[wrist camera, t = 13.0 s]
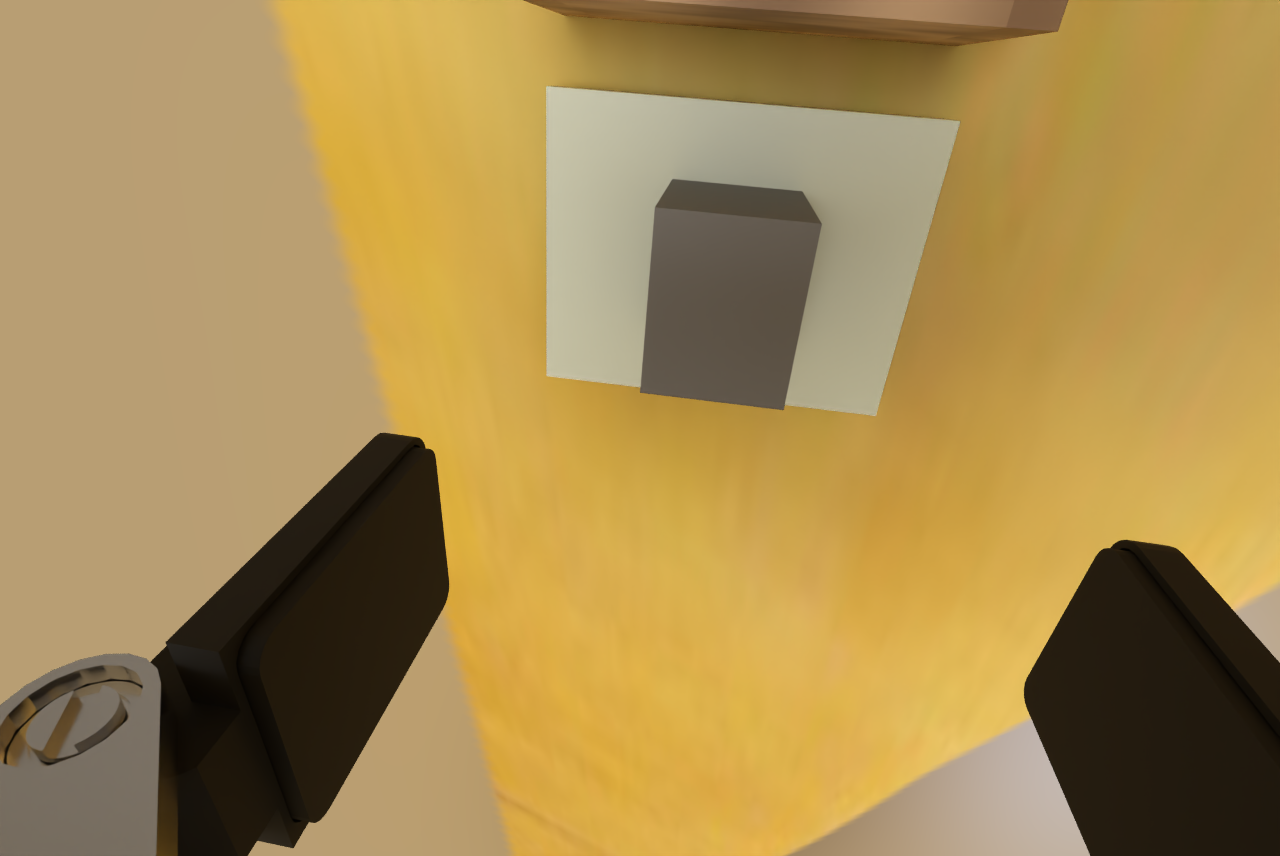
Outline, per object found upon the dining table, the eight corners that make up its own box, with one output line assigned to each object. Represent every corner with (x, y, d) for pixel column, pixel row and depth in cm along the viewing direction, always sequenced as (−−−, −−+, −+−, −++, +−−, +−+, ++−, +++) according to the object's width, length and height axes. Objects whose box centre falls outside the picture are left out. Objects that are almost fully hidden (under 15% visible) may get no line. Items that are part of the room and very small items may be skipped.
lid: (942, 117, 24) (1032, 134, 16) (866, 393, 29) (909, 496, 22) (561, 85, 25) (490, 88, 18) (558, 357, 30) (504, 443, 23)
